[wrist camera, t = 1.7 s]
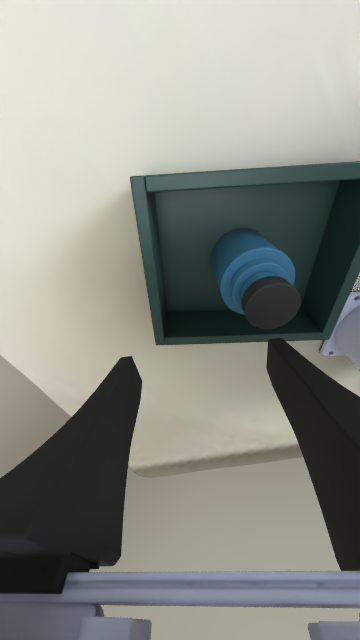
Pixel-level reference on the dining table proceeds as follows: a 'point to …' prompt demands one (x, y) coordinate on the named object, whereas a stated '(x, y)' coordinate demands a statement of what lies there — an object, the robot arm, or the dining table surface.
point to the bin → (266, 219)
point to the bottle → (255, 278)
